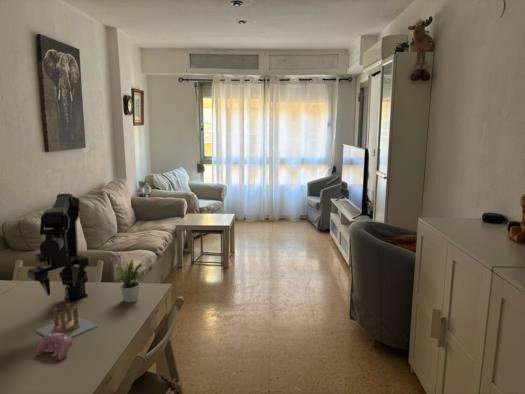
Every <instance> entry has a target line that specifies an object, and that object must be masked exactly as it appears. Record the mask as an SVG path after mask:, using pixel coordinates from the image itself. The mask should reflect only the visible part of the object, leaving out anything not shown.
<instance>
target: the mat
mask: <svg viewBox="0 0 525 394" xmlns="http://www.w3.org/2000/svg"><path fill="white" fill-rule="evenodd" d="M71 317H72V320H74V316H73V315H71ZM65 321H67V317H65ZM59 323H61V320H59ZM78 323H80V327H79V328H76V329H74V330H72V331H69V332H67V333H65V335H66V336H68V337H70V338H71V339H73V338H75V337H77V336H79V335H82V334H83V333H86V332H89V331H91V330H93V329H95V328H98V325H97V324H95V323H93V322H91V321H89V320H87V319H85V318H83V317H81V316H79V315H78ZM54 325H55V324H54V323H51V324H48V325H46V326H44V327H41V328H38V329H36V330H35V332H36V333H38V334H40V335H41V336H42V337H43V338H44V337H45V336H46V335H47V334H50V333H60V332H58V331H56V330H55V329H54V327H53V326H54Z"/></svg>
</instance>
